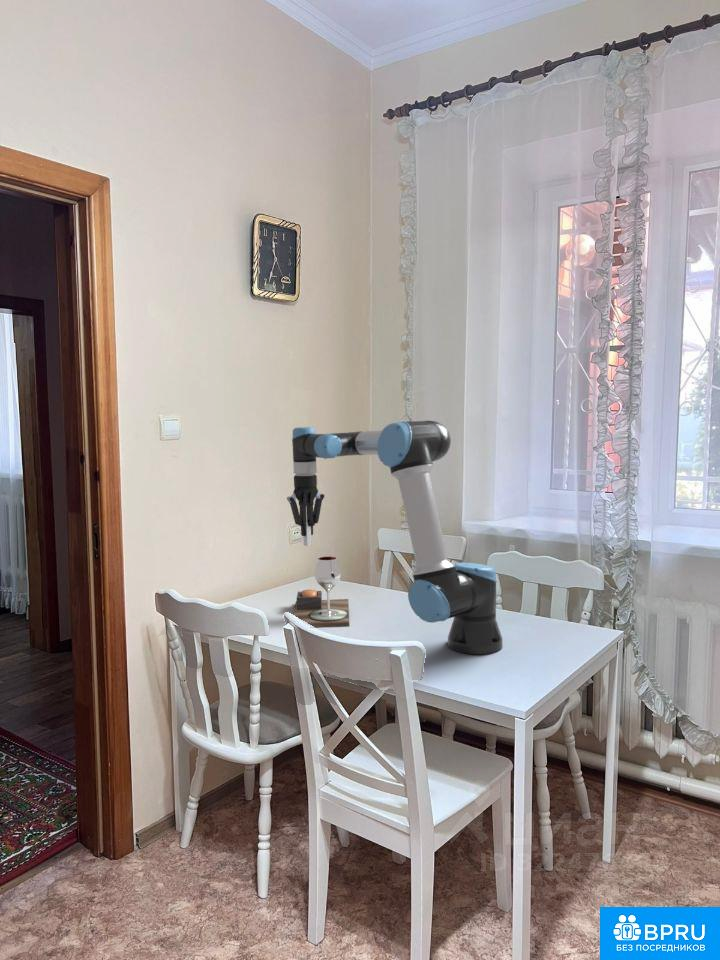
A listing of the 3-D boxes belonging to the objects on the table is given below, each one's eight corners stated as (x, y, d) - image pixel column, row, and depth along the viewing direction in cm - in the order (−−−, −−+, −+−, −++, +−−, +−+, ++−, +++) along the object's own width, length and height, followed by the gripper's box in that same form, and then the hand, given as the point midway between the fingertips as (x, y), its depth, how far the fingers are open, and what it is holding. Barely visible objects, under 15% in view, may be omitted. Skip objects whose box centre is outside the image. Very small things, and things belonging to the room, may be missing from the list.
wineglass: (341, 617, 225) (340, 560, 223) (315, 617, 225) (313, 561, 223) (341, 610, 233) (340, 555, 231) (316, 610, 233) (315, 556, 231)
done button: (316, 602, 237) (316, 593, 236) (301, 603, 237) (301, 593, 236) (317, 598, 242) (316, 589, 241) (302, 599, 242) (302, 589, 241)
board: (349, 626, 221) (348, 609, 220) (290, 628, 220) (290, 611, 220) (348, 602, 247) (347, 587, 246) (296, 604, 246) (295, 589, 246)
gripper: (317, 472, 241) (319, 541, 244) (282, 475, 234) (284, 546, 237) (328, 473, 235) (330, 544, 237) (292, 476, 228) (294, 549, 231)
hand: (307, 545), depth 237 cm, fingers closed
